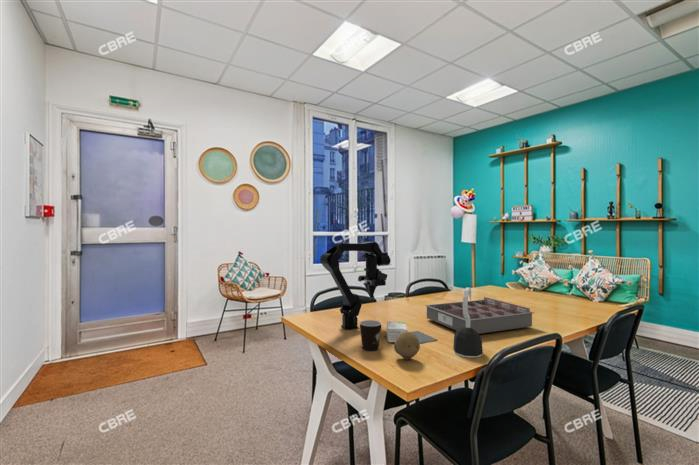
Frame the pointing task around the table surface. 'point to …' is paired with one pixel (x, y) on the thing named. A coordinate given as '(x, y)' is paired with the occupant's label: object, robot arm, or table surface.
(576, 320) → the table surface
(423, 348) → the table surface
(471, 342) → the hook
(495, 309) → the organizer tray
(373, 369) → the table surface
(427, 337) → the mat
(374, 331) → the coffee mug
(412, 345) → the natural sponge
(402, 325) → the ink box
